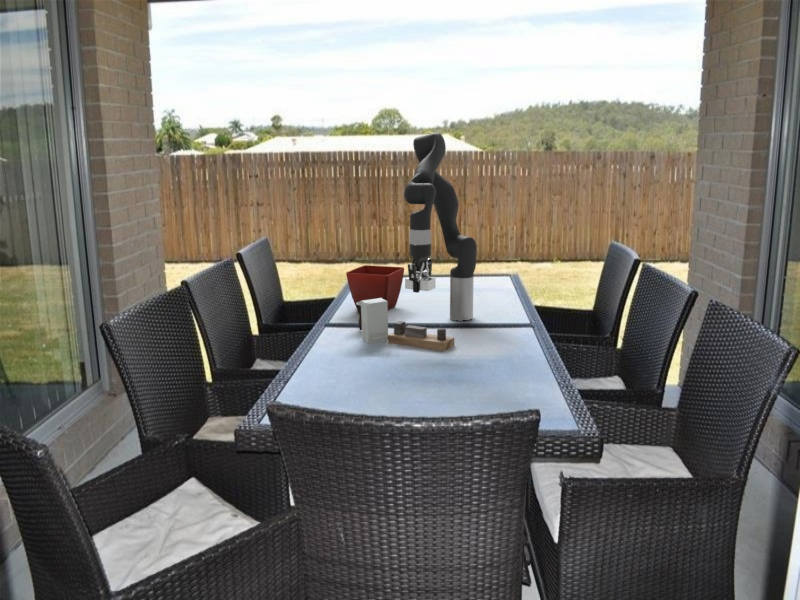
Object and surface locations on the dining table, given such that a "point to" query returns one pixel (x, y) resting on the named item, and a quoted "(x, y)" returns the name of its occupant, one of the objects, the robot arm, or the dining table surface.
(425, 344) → the body
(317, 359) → the dining table surface
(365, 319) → the skincare box
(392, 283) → the plant pot
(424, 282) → the lever cap
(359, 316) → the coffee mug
